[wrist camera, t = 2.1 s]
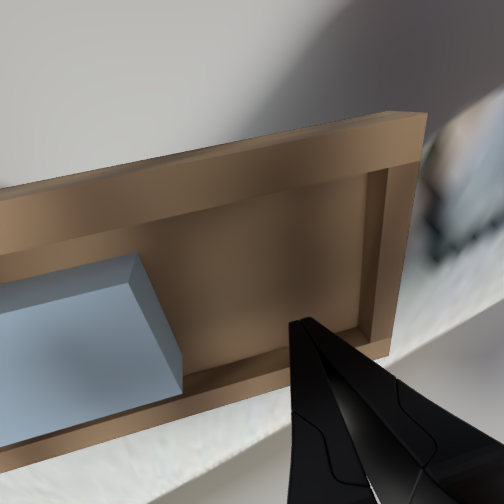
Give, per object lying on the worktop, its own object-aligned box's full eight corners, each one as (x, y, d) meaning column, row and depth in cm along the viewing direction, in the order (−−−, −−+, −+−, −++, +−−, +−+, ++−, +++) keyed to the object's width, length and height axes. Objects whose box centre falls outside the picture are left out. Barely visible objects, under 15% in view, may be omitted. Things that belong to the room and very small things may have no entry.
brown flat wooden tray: (388, 110, 10) (427, 112, 9) (367, 329, 17) (388, 355, 15) (-207, 230, 8) (-308, 264, 7) (22, 429, 15) (0, 473, 13)
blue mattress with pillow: (137, 252, 10) (124, 294, 8) (182, 355, 13) (182, 407, 11) (-130, 314, 9) (-228, 382, 7) (-14, 410, 12) (-58, 478, 10)
